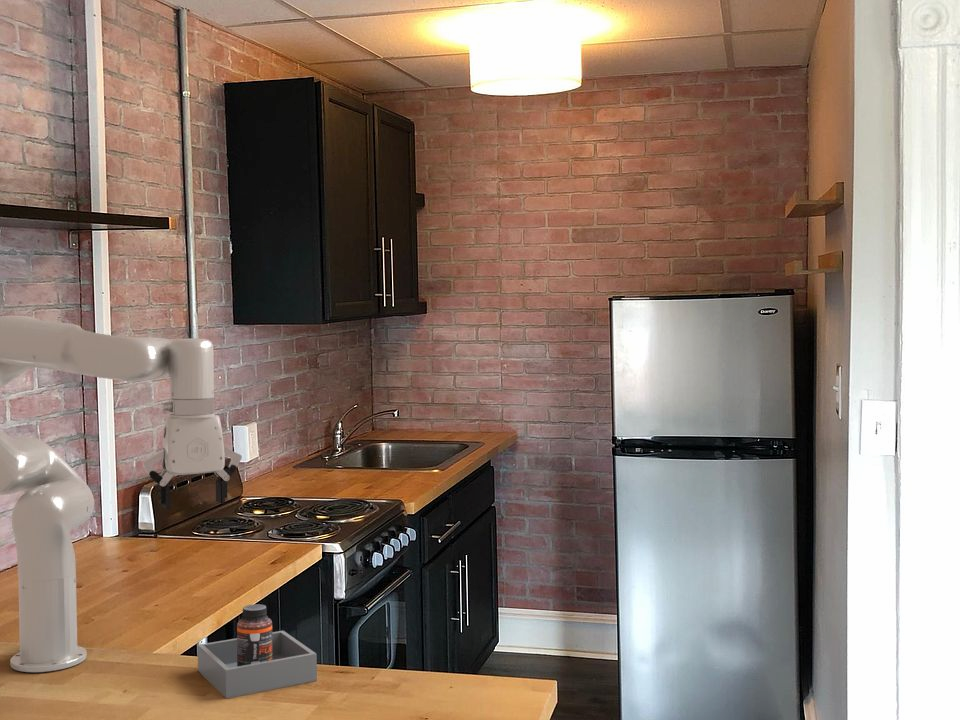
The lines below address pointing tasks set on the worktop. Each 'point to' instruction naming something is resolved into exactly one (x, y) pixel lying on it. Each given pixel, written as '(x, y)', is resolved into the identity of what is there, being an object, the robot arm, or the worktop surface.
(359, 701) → the worktop surface
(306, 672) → the bin
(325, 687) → the worktop surface
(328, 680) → the worktop surface
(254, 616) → the supplement bottle
